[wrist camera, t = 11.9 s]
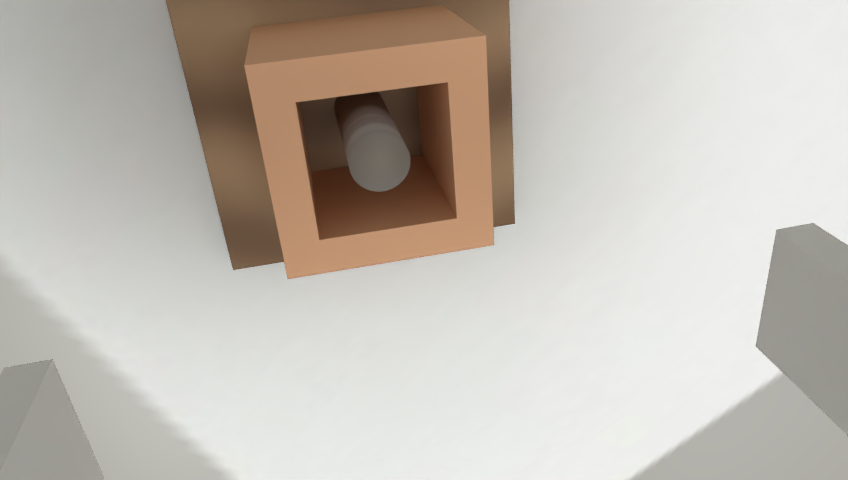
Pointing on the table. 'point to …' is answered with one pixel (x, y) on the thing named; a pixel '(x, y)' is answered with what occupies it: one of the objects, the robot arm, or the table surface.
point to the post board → (319, 112)
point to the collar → (335, 188)
